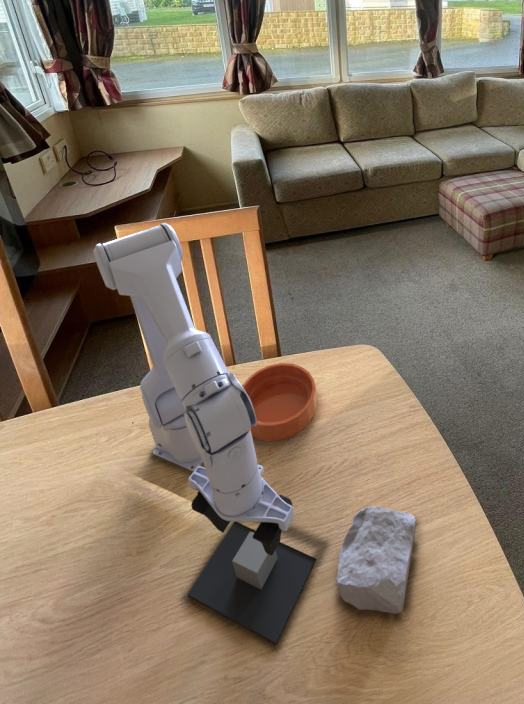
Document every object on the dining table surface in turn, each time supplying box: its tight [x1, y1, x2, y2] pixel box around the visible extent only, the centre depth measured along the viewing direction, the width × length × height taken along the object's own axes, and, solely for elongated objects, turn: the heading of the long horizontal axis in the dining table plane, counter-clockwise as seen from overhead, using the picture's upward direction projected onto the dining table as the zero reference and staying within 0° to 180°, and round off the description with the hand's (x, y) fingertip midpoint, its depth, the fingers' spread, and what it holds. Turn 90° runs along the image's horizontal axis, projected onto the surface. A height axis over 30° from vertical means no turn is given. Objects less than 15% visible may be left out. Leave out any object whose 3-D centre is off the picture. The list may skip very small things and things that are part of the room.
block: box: [232, 532, 277, 589], centre depth 66 cm, size 4×4×4 cm
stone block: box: [336, 505, 417, 615], centre depth 67 cm, size 12×5×10 cm
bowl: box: [241, 362, 318, 442], centre depth 90 cm, size 14×14×4 cm
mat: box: [187, 521, 317, 645], centre depth 67 cm, size 14×12×1 cm
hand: (249, 535), depth 64 cm, fingers open, 7 cm apart
